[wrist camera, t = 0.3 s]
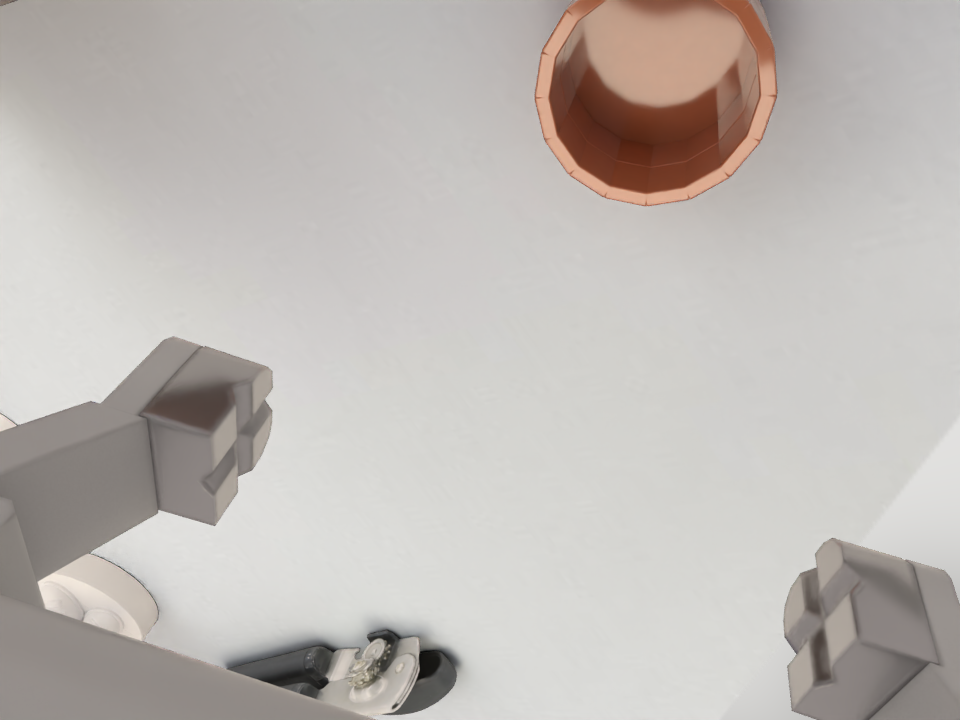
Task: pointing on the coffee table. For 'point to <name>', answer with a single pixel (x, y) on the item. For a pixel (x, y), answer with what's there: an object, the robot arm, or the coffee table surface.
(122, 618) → the character figurine
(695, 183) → the bowl
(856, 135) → the coffee table surface
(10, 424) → the figurine
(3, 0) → the wooden block
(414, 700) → the can opener
